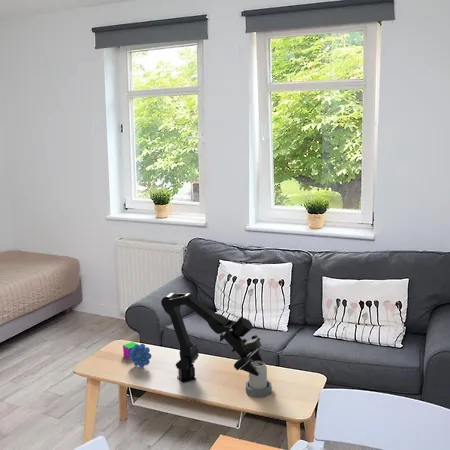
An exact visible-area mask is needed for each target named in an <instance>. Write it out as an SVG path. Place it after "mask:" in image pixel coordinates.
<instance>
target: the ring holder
mask: <svg viewBox="0 0 450 450" xmlns="http://www.w3.org/2000/svg"><path fill="white" fill-rule="evenodd" d="M272 387H273V385H272V382H271V381H269V380H268V379H267V388H266V389H263V390H254V389H251V388H249V380H248V381H246V382H245V393H246V395H247V396H250V397H253V398H266V397H268V396H270V395H271V394H272V393H273V392H272V391H273V388H272Z"/></svg>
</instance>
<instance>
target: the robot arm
mask: <svg viewBox="0 0 450 450" xmlns="http://www.w3.org/2000/svg"><path fill="white" fill-rule="evenodd" d="M160 302H161V307H162V308H163V310H164V312H165V313H166V314H167V315H168V316H169V317H170V321H171V324H172V327H173V330H174V333H175V335H176V338H177V341H178V343H179V358H180V360H178V361H177V362H176V363H175V367H176V369H178V372H177V373H178V375H177V377H176V378H177V379H178V380H179V381H180V382H182V383H184V384H185V383H187V382H191V381H194V380H196V379H197V377H195V376H196V368H195V365H194V363H195V362H196V361H197V360H198V358H199V353H200V351H199V349H198V345H197V344H196V343H194V344H193V343H192V341H191V340H190V338H189V333H188V331H187V328H186V325H185V322H184V320H183V316H182V314H181V306H184V305H185V306H186V307H188V309H191V311H192V312H194V313H195V314H196V315H198V316H199V317H201V318H202V319H203V320H204V321H205V322H206V323H207V325H208V326H209V328H210V329H211V330H212V331H213V333H215V334H216V335H219V342H220V343H221V342H222V341H225V342H226V343H227V344H228V345H229V346H230V348H232V349H231V350H230V351H231V352H232V353H234V352H235V353H236V354H237V355H238V357H237V359H238V360H236V361H235V363H234V364H233V368H234V369H235V370H236V371H238V370H239V371H244V372H246V373H248V374H249V373H251V374H253V375H256V376H258V375H259V374H258V372H257V371H256V369H255V368H254V367H253V365H252V364H251V362H253V361H262V362H264V360H263V357H262V355H261V346H262V344H261V338H260V337H259V336H258V335H257V334H253V335H252V336H251V339H249V340H247V339H246V338H243V337H244V336H246V335H247V334H248V333H249V332H251V330H253V328H254V327H253V324H252V322H251V321H250V320H249V319H247V318H244V317H243V316H240V317H239V318H238V319H237V320H231V319H229V318H228V317H226V316H224V315H222V314H221V313H217V312H214V311H213V310H212V309H210V308H209V307H208V306H206V305H205V304H204V303H202V302H201V301H200V300H198V299H197V297H195V296H194V295H193V294H192V293H190V292H189V293H187V292H186V293H184V292H183V293H182V292H181V293H176V292H170V293H168V294H166V295H165V296H164V297H162V298H161V301H160Z"/></svg>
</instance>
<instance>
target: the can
mask: <svg viewBox="0 0 450 450" xmlns="http://www.w3.org/2000/svg"><path fill="white" fill-rule="evenodd" d="M251 364H252V365H253V367H254V368H255V369H256V371H257V372H258V374H259V375H258V376H256V375H253V374H251V373H249V372H248V381H249V388H251V389H254V390H263V389H266V388H267V380H268V374H267V373H268V371H267V370H268V368H267V365H266V363H265V362H264V361H263V362H262V361H253V360H252V361H251Z"/></svg>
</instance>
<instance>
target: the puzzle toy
mask: <svg viewBox="0 0 450 450" xmlns="http://www.w3.org/2000/svg"><path fill="white" fill-rule="evenodd" d="M136 344H137V343H136V342H134V341H132V342H131V341H130V342H128V343H126V344H122V352H123V353H122V355H123V357H125V356H126V357H127V358H126V357H125V358H126V359H128V358H129V359H128V360H131V359H130V357H131V356H132V354H131V353H130V351H131V350H132V349H134V346H135V345H136Z"/></svg>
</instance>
